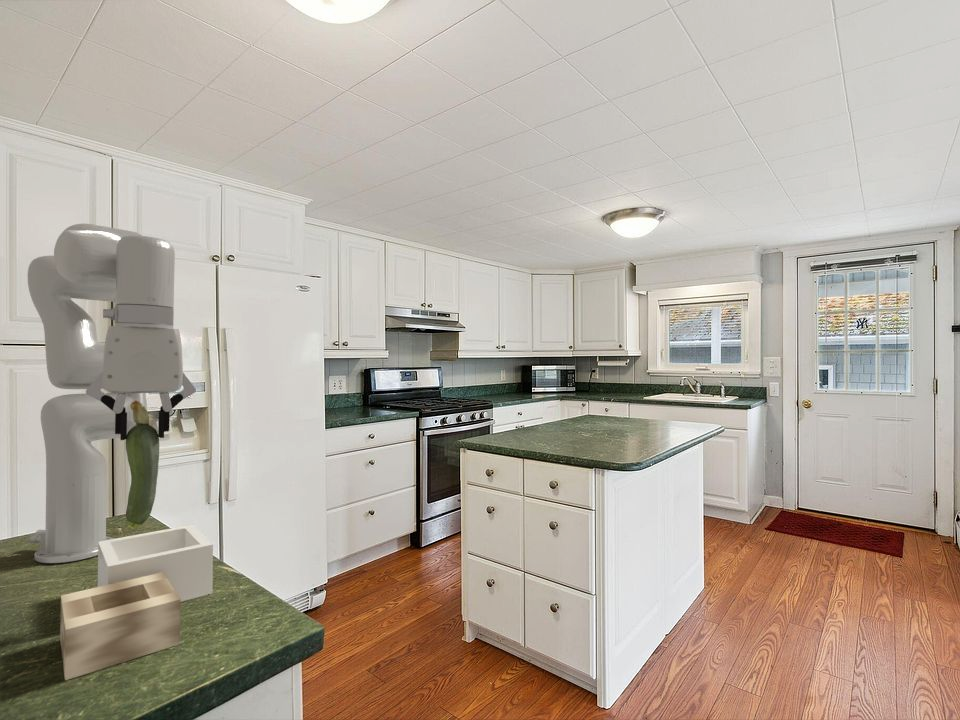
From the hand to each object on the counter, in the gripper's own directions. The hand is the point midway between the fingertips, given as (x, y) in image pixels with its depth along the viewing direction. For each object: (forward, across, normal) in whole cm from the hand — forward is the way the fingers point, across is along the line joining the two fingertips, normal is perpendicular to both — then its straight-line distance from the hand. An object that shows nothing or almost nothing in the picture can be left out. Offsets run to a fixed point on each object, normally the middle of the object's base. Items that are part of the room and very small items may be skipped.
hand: (142, 436), depth 78 cm
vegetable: (+15, 0, 0) cm, 15 cm away
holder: (+26, -2, -10) cm, 28 cm away
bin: (+27, +2, +6) cm, 27 cm away
